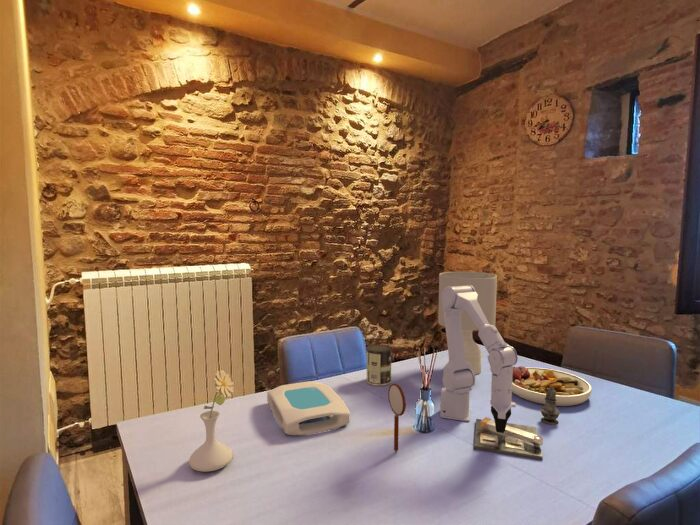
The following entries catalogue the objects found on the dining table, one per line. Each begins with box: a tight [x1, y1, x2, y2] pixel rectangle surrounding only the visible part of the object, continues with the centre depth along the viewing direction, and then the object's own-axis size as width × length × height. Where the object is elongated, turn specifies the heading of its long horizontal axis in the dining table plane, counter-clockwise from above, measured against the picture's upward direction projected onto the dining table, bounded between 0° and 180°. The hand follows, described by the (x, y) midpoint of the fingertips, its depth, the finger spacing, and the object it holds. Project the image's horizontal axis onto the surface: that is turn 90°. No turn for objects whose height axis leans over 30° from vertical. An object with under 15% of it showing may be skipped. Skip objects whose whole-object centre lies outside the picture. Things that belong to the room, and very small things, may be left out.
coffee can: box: [365, 344, 392, 387], centre depth 175 cm, size 10×10×14 cm
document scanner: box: [266, 380, 351, 437], centre depth 145 cm, size 21×28×6 cm
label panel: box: [473, 418, 544, 461], centre depth 129 cm, size 18×18×2 cm
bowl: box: [512, 365, 592, 407], centre depth 165 cm, size 30×30×8 cm
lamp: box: [437, 271, 498, 376], centre depth 188 cm, size 24×24×42 cm
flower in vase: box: [188, 369, 234, 473], centre depth 115 cm, size 13×11×25 cm
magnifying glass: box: [387, 383, 407, 454], centre depth 120 cm, size 9×2×20 cm, turn 23°
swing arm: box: [480, 416, 544, 446], centre depth 127 cm, size 18×4×2 cm, turn 47°
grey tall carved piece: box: [539, 386, 561, 426], centre depth 140 cm, size 6×6×12 cm
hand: (500, 432), depth 127 cm, fingers closed
